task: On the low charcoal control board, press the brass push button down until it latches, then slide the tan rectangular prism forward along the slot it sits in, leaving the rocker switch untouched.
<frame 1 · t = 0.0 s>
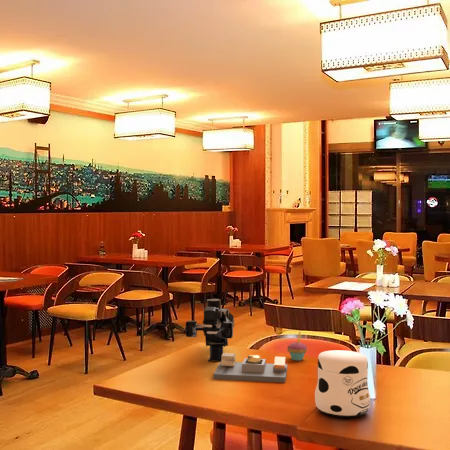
hand: (205, 333, 224), 17 cm above the table, tool horizontal, fingers open, 9 cm apart
tan rectangular prism: (228, 359, 233), point 5 cm above the table, slide at 0.0 cm
cupcake: (297, 359, 251), on the table
panel: (251, 374, 228), on the table
rocker: (279, 362, 227), point 5 cm above the table, hinge at 12.0°
button: (254, 360, 228), point 6 cm above the table, slide at 0.0 cm
milk container: (342, 412, 187), on the table
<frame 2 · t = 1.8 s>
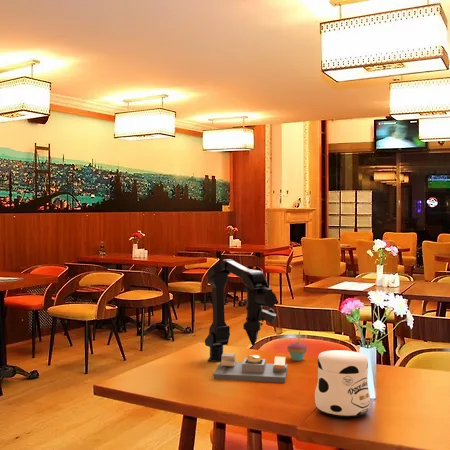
hand: (254, 343, 228), 12 cm above the table, tool pointing down, fingers open, 5 cm apart
nothing on the table moved.
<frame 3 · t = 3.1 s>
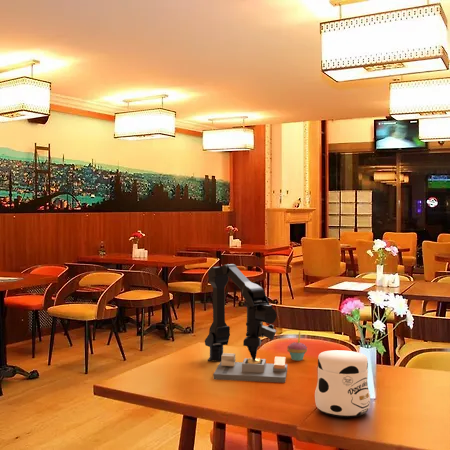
hand: (253, 359, 228), 6 cm above the table, tool pointing down, fingers closed, pressing on button
button: (254, 363, 228), point 4 cm above the table, slide at -1.1 cm, touching gripper
everything else where it was.
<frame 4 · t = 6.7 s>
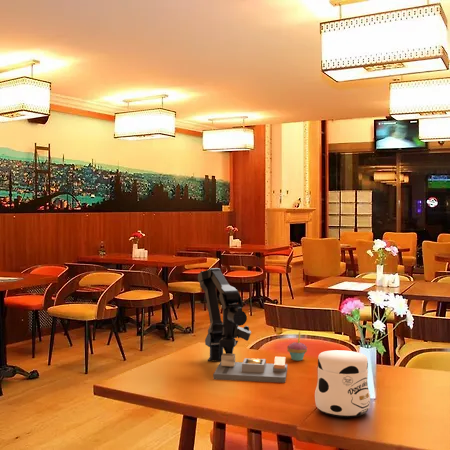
hand: (229, 359, 236), 4 cm above the table, tool pointing down, fingers closed
tan rectangular prism: (228, 359, 232), point 5 cm above the table, slide at 0.3 cm, touching gripper
button: (254, 364, 228), point 4 cm above the table, slide at -1.5 cm
everything else where it was.
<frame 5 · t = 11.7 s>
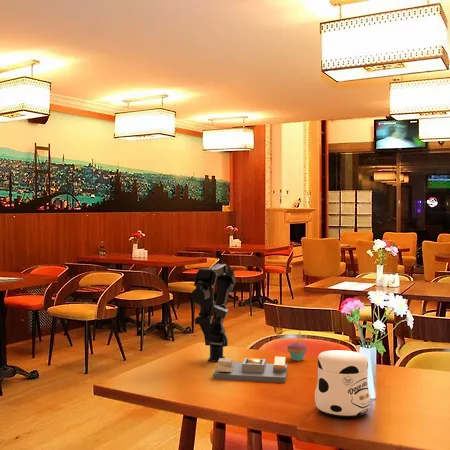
hand: (206, 337, 238), 12 cm above the table, tool pointing down, fingers closed
tan rectangular prism: (225, 365, 225), point 5 cm above the table, slide at 8.0 cm
everything else where it was.
at the end: button slide at -1.5 cm; tan rectangular prism slide at 8.0 cm; rocker at +12° (first picture: +12°) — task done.
